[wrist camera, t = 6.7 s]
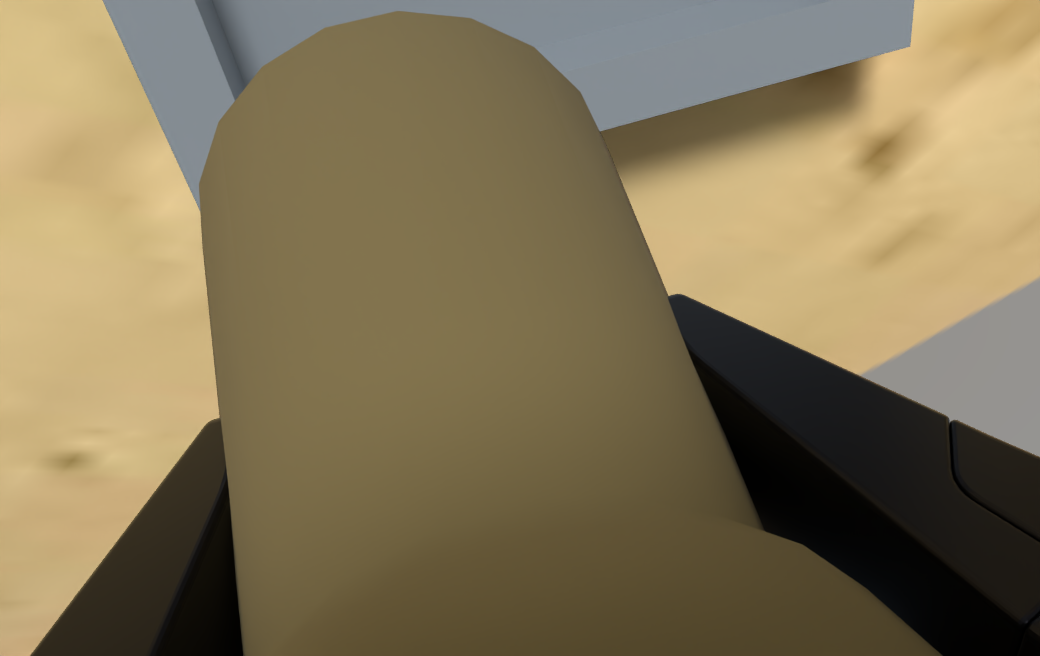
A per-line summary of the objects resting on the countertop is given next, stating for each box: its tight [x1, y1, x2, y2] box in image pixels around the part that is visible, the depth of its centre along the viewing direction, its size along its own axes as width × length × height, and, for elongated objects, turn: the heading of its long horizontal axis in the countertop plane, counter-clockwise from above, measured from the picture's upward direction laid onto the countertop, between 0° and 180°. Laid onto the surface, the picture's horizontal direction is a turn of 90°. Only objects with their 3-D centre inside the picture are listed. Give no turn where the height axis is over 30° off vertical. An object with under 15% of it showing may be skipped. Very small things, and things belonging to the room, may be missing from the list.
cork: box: [199, 11, 943, 656], centre depth 8 cm, size 6×6×11 cm
